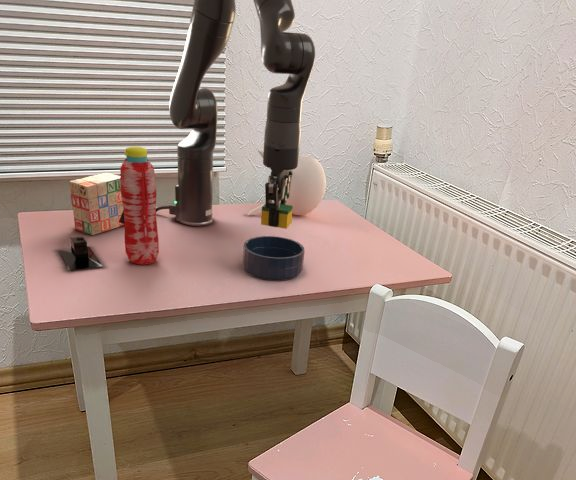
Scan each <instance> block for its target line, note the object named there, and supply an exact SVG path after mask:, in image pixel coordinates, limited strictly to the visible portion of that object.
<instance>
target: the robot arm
mask: <svg viewBox="0 0 576 480" xmlns="http://www.w3.org/2000/svg"><path fill="white" fill-rule="evenodd" d="M253 3H254V4H253V5H254V7H255V11H256V14H257V17H258V20H259V26H260V27H259V29H260V30H259V31H260V58H261V62H262V64H263V66H264V67H265V69H266V70H267V72H268V71H269V72H270V73H272V74H277V75H278V74H279V75H288V77H287V79H286V81H285V82H284V83H283V84H280V85H277V86H274V87H272V88H270V89H269V90H268V94H267V107H266V120H265V127H264V134H263V135H264V138H263V152H264V153H263V157H262V164H263V166H265V167H266V168H269V169H270V170H271V171H270V175H268V178H267V182H265V184H264V193H265V196H264V197H265V204H266V209H269V219H268V225H269V226H268V227H272V228H278V227H277V226H278V224H279V211H280V204H284V205H285V204H286V202H287V199H288V198H289V193H290V186H291V179H292V174H293V173H292V171H289V170H293V169H295V168H297V166H298V158H299V156H300V147H301V146H300V145H301V144H300V143H301V134H302V133H301V132H302V131H301V119H302V110H303V109H302V107H303V99H304V96H305V93H306V90H307V86H308V83H309V80H310V79H311V75H312V71H313V68H314V66H315V60H316V47H315V43H314V41H313V39H312V37H311V36H309V34H306V33H302V32H288V31H287V30H289V29H290V28H291V27H292V26H293V24H294V22H295V19H296V16H295V15H296V14H295V9H294V5H293V2H292V0H253ZM236 7H237V5H236V0H193V5H192V11H191V14H190V19H189V26H188V31H187V36H186V41H185V44H184V49H183V54H182V58H181V61H180V66H179V68H178V71H177V73H176V74H177V75H176V78H175V81H174V84H173V87H172V90H171V94H170V97H169V98H170V99H169V106H168V107H169V117H170V121H171V122H172V125H173V126H174V127H175V128H177V129H179V130H190V133H189V134H188V135H187V137H185V138H184V139H182V140H181V141H180V142H178V144H177V148H176V149H177V150H176V152H177V153H176V154H177V184H175V187H174V196H175V200H174V201H173V202H172V203H170V204H169V205H162V206H158V207H156V213H157V212H159V211H161V210H169V211H168V213H169V215H172V216H175V222H179V223H181V224H183V225H186V226H191V227H192V226H193V227H204V226H208V225H210V224H212V223H213V219H214V218H213V196H214V195H213V193H214V191H213V189H214V188H213V187H214V184H213V182H214V180H213V179H214V150H215V147H216V143H217V130H218V114H219V113H218V102H217V99H216V96H215V94H214V92H213V91H212V90H211V89H209V88H207V87H201V85H202V82H203V80H204V77H205V76H206V73H207V72H208V71H209V70H210V68H211V67H212V66H213V64H214V63H215V62H216V61H217V59H218V58H219V57H220V55H221V54H222V53H223V51H224V50H225V48H226V47H227V45H228V43H229V40H230V37H231V34H232V29H233V25H234V22H235V18H236V13H237V8H236ZM272 201H274V204H273V203H272Z"/></svg>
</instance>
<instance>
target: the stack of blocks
mask: <svg viewBox="0 0 576 480" xmlns="http://www.w3.org/2000/svg"><path fill="white" fill-rule="evenodd" d="M69 188H70V200H71V206H72V211H73V212H72V213H73V222H74V228H75V229H74V230H76V231H80V232H82V233H85V234H88V235H90V236H95V235H98V234H100V233H104V232H108V231H110V230H113V229H116V228H119V227H122V226H125V224H122V223H120V222H119V220H120V217H121V215H122V213H123V210H124V208H123V202H122V196H121V185H120V175H118V174H113V173H110V172H103V173H99V174H93V175H90V176H87V177H82V178H76V179H73V180H69Z"/></svg>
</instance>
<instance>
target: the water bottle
mask: <svg viewBox="0 0 576 480" xmlns="http://www.w3.org/2000/svg"><path fill="white" fill-rule="evenodd" d="M124 155H125V157H126V158H125V159H124V160H123V162H122V164H121V166H120V169H119V171H120V172H119V173H120V175H119V176H120V185H121V196H122V202H123V208H124V210H123V213H122V215H121V217H120V220H119V222H120V223H122V224H125V225H124V249H125V255H126V256H127V258H128V260H129V262H130V263H132V264H136V265H140V266H144V265H146V266H147V265H151V264H153V263H154V262H156V261H157V258H158V256H159V253H160V245H159V232H158V223H157V212H156V208H157V180H156V173H155V168H154V165H153V164H152V163H151V161H150V159H148V149H147V148H146V147H142V146H128V147H126V148H125V152H124Z"/></svg>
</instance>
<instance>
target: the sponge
mask: <svg viewBox="0 0 576 480" xmlns="http://www.w3.org/2000/svg"><path fill="white" fill-rule="evenodd" d="M264 204H265V205H264V206H263V207H262V213H260V214H261V215H260V225H261V226H267V227H270V226H269V225H268V219H269V209H266V203H264ZM273 204H274V203H273ZM292 209H293V206H290V205H284V204H280V211H279V224H278V226H277V227H276V228H278V229H279V228H280V229H285V230H287V229H288V228H289V226H290V225H291V224H292V222H293V221H292V220H293V214H292Z"/></svg>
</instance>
